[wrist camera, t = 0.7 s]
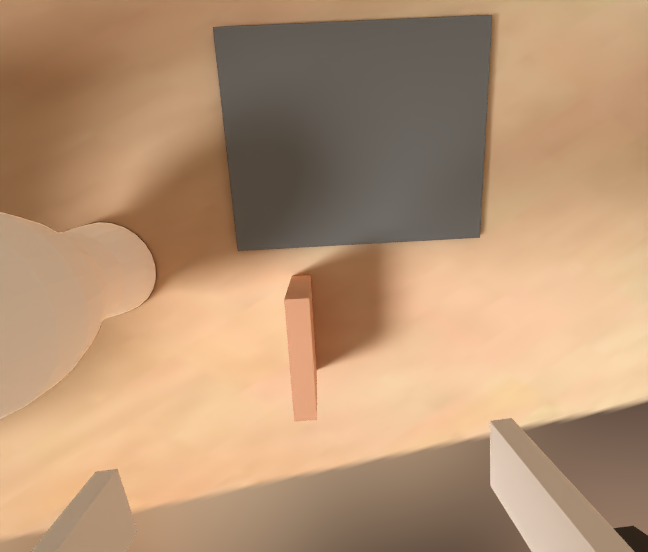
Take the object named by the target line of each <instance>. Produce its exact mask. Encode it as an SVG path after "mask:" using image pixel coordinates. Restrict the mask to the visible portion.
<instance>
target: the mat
mask: <svg viewBox="0 0 648 552" xmlns="http://www.w3.org/2000/svg"><path fill="white" fill-rule="evenodd" d="M491 28H492V15H476V16H453V17H431V18H408V19H385V20H363V21H340V22H317V23H295V24H272V25H249V26H226V27H213V33H214V42H215V50H216V59H217V68H218V77H219V86H220V95H221V104H222V113H223V122H224V131H225V140H226V149H227V158H228V166H229V175H230V184H231V193H232V202H233V211H234V220H235V229H236V238H237V247H238V251H245V250H263V249H281V248H299V247H317V246H336V245H354V244H372V243H390V242H408V241H426V240H444V239H462V238H480V225H481V207H482V189H483V171H484V153H485V135H486V117H487V100H488V82H489V64H490V46H491Z"/></svg>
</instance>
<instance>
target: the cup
mask: <svg viewBox="0 0 648 552" xmlns="http://www.w3.org/2000/svg"><path fill="white" fill-rule="evenodd" d="M155 280H156V269H155V263H154V260H153V257H152V254H151V253H150V251H149V249H148V248H147V246H146V245H145V243H144V242H143V241H142V240H141V239H140V238H139V237H138V236H137V235H136V234H134V233H133V232H131V231H129V230H128V229H126V228H125V227H122V226H119V225H116V224H113V223H102V222H98V223H93V224H87V225H83V226H80V227H76V228H73V229H70V230H67V231H65V232H56V231H55V230H53V229H51V228H49V227H47V226H46V225H44V224H41V223H38V222H34V221H31V220H28V219H25V218H22V217H18V216H15V215H11V214H7V213H3V212H0V419H1V418H3V417H5V416H7V415H9V414H11V413H14V412H16V411H18V410H20V409H22V408H24V407H26V406H27V405H28V404H30V403H31V402H33V401H34V400H35V399H37V398H38V397H40V396H41V395H43V394H44V393H45V392H47V391H48V390H50V389H51V388H52V387H54V386H55V385H57V384H58V383H59V382H60V381H61V380H62V379H63V378H64V377H65V376H66V375H67V374H69V373H70V372H71V371H72V370H73V369H74V367H75V366H76V365H77V363H78V362H79V361H80V359H81V358H82V356H83V355H84V354H85V352H86V351H87V350H88V348H89V347H90V346H91V344H92V342H93V340H94V338H95V337H96V335H97V333H98V331H99V329H100V326H101V323H102V321H103V320H104V319H106V318H109V317H113V316H116V315H120V314H123V313H125V312H128V311H130V310H132V309H134V308H136V307H139V306H140V305H141V304H142V303H143V302H144V301H145V300H147V299H148V297H149V295H150V294H151V292H152V290H153V288H154V284H155Z"/></svg>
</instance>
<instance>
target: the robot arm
mask: <svg viewBox="0 0 648 552" xmlns="http://www.w3.org/2000/svg"><path fill="white" fill-rule="evenodd" d="M490 474H491V475H490V482H491V487H492V489H493V490H494V492H495V494H496V495H497V497H498V498H499V500H500V502H501V503H502V505H503V506H504V508H505V510H506V511H507V513H508V514H509V516H510V518H511V519H512V521H513V522H514V524H515V526H516V527H517V529H518V530H519V532H520V534H521V535H522V537H523V538H524V540H525V542H526V543H527V545H528V546H529V548H530V550H531V551H532V552H648V535H646V534H645V533H643V532H642V531H640V530H639V529H637V528H636V527H634V526H629V527H620V528H612V527H611V526H610V524H608V522H607V521H605V519H604V518H603V517H602V516H601V515H600V514H599V513H598V511H597V510H596V509H595V508H594V507H593V506H592V505H591V504H590V503H589V502H588V501H587V500H586V498H585V497H584V496H583V495H582V494H581V493H580V492H579V491H578V490H577V489H576V488H575V487H574V485H573V484H572V483H571V482H570V481H569V480H568V479H567V478H566V477H565V476H564V475H563V473H561V471H560V470H559V469H558V468H557V467H556V466H555V465H554V464H553V463H552V462H551V461H550V459H549V458H548V457H547V456H546V455H545V454H544V453H543V452H542V451H541V450H540V449H539V447H538V446H537V445H536V444H535V443H534V442H533V441H532V440H531V439H530V438H529V437H528V436H527V435H526V433H525V432H524V431H523V430H522V429H521V428H520V427H519V426H518V425H517V424H516V422H515V421H514V420H513V419H512V418H510V419H502V420H494V421H490ZM136 533H137V528H136V525H135V522H134V519H133V516H132V513H131V510H130V507H129V503H128V500H127V497H126V494H125V491H124V488H123V485H122V482H121V478H120V475H119V472H118V469H114V470H106V471H98V472H95V473H94V475H93V476H92V477H91V478H90V479H89V481H88V482H87V483H86V484H85V486H84V487H83V488H82V489H81V490H80V492H79V493H78V494H77V495H76V497H75V498H74V499H73V500H72V502H71V503H70V504H69V505H68V506H67V508H66V509H65V510H64V511H63V513H62V514H61V515H60V516H59V517H58V519H57V520H56V521H55V522H54V524H53V525H52V526H51V527H50V529H49V530H48V531H47V532H46V533H45V535H44V536H43V537H42V538H41V540H40V541H39V542H38V543H37V544H36V546H35V547H34V548H33V549H32V551H31V552H127V550H128V548H129V546H130V544H131V542H132V540H133V539H134V537H135V535H136Z"/></svg>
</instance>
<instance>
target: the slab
mask: <svg viewBox="0 0 648 552" xmlns="http://www.w3.org/2000/svg"><path fill="white" fill-rule="evenodd" d="M284 301H285V313H286V325H287V337H288V349H289V361H290V374H291V386H292V398H293V410H294V421H306V420H317V369H316V353H315V337H314V321H313V305H312V289H311V275H300V276H292V278H291V281H290V284H289V287H288V290H287V293H286V296H285V299H284Z"/></svg>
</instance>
